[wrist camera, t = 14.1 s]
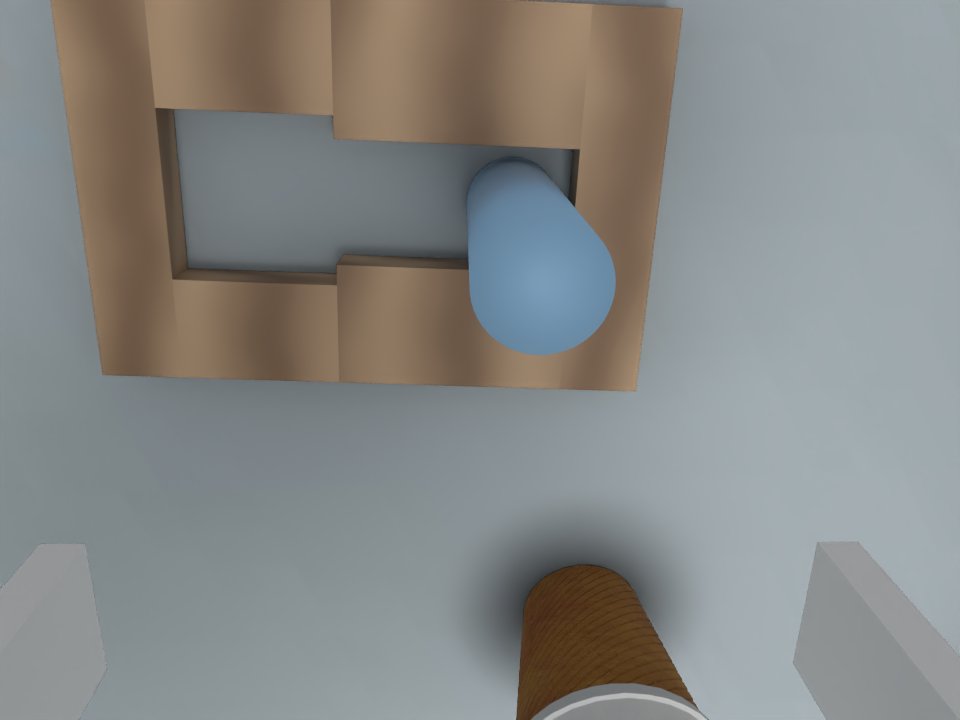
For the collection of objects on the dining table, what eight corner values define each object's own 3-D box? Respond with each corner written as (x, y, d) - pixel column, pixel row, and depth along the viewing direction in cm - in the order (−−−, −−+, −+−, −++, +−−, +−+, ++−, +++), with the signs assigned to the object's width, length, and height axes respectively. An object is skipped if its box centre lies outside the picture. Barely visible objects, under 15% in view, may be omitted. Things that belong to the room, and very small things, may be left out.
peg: (464, 246, 35) (466, 352, 22) (467, 155, 33) (472, 209, 20) (553, 249, 35) (607, 357, 22) (560, 158, 34) (623, 215, 20)
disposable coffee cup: (501, 533, 40) (516, 713, 29) (681, 543, 41) (765, 724, 29) (486, 677, 44) (495, 889, 32) (653, 685, 44) (718, 896, 33)
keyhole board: (121, 359, 36) (102, 374, 34) (72, -17, 31) (47, -23, 29) (626, 375, 37) (635, 391, 35) (669, 11, 32) (682, 8, 30)
